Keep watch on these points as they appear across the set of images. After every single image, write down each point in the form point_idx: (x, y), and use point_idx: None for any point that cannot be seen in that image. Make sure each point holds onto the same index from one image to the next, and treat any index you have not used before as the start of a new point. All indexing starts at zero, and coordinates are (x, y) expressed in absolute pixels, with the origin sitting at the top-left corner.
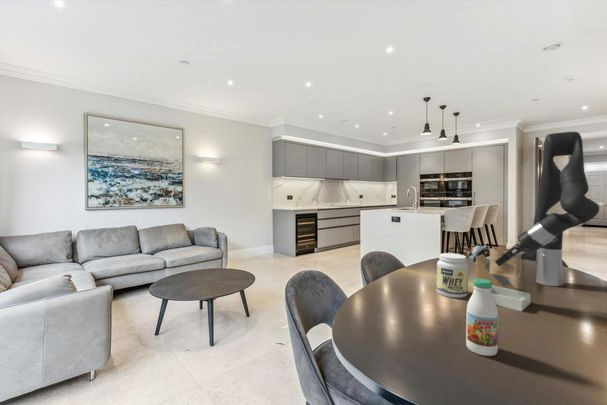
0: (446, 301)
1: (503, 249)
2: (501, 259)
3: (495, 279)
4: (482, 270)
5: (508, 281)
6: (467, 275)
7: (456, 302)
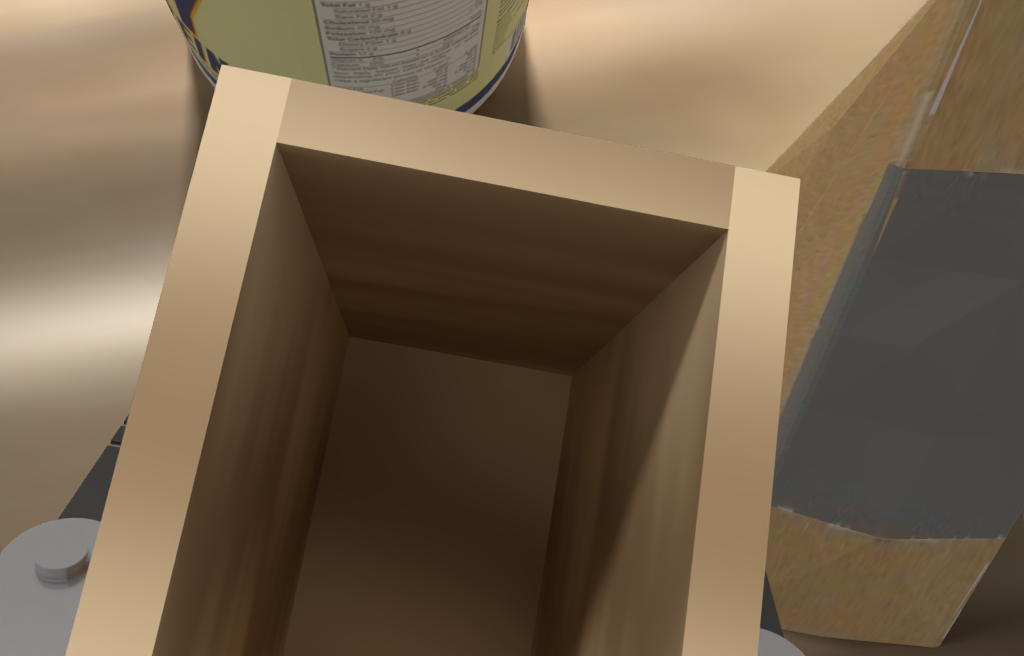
0: (46, 15)
1: (694, 485)
2: (78, 509)
3: (795, 373)
4: (849, 164)
5: (995, 518)
6: (314, 22)
7: (76, 105)
